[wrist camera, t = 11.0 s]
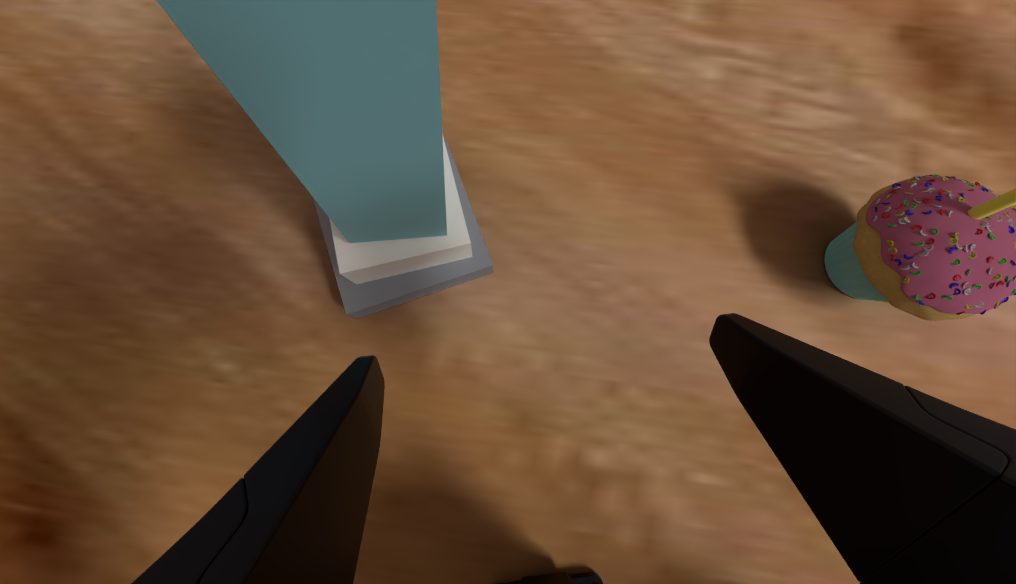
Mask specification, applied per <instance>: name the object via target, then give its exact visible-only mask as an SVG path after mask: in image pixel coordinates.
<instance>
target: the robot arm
mask: <svg viewBox="0 0 1016 584" xmlns="http://www.w3.org/2000/svg"><path fill="white" fill-rule="evenodd" d="M709 342H710V346H711V348H712V350H713V352H714V354H715V356H716V358H717V360H718V362H719V364H720V366H721V368H722V370H723V371H724V373H725V375H726V377H727V379H728V381H729V383H730V385H731V387H732V389H733V390H734V392H735V394H736V396H737V397H738V399H739V401H740V402H741V404H742V405H743V407H744V408H745V410H746V411H747V413H748V414H749V416H750V417H751V419H752V420H753V422H754V423H755V425H756V427H757V428H758V430H759V431H760V433H761V434H762V436H763V437H764V439H765V440H766V442H767V443H768V445H769V446H770V448H771V449H772V451H773V452H774V454H775V455H776V457H777V458H778V460H779V461H780V463H781V465H782V466H783V468H784V469H785V471H786V472H787V474H788V475H789V477H790V478H791V480H792V481H793V483H794V484H795V486H796V487H797V489H798V490H799V492H800V493H801V495H802V496H803V498H804V499H805V501H806V502H807V504H808V506H809V507H810V509H811V510H812V512H813V513H814V515H815V516H816V518H817V519H818V521H819V522H820V524H821V525H822V527H823V528H824V530H825V531H826V533H827V534H828V536H829V537H830V539H831V540H832V542H833V543H834V545H835V547H836V548H837V550H838V551H839V553H840V554H841V556H842V557H843V559H844V560H845V562H846V563H847V565H848V566H849V568H850V569H851V571H852V572H853V574H854V575H855V577H856V578H857V580H858V581H860V584H1016V429H1013V428H1010V427H1008V426H1005V425H1003V424H1000V423H997V422H995V421H992V420H990V419H987V418H984V417H982V416H979V415H977V414H974V413H972V412H969V411H966V410H964V409H961V408H959V407H956V406H954V405H952V404H949V403H947V402H944V401H942V400H939V399H937V398H935V397H932V396H930V395H927V394H925V393H923V392H920V391H918V390H916V389H913V388H911V387H909V386H904V385H903V384H901V383H899V382H896V381H894V380H892V379H889V378H887V377H885V376H882V375H880V374H878V373H875V372H873V371H870V370H868V369H866V368H863V367H861V366H859V365H856V364H854V363H852V362H849V361H847V360H844V359H842V358H840V357H837V356H835V355H833V354H830V353H828V352H826V351H823V350H821V349H818V348H816V347H814V346H811V345H809V344H807V343H804V342H802V341H800V340H797V339H795V338H793V337H790V336H788V335H785V334H783V333H781V332H778V331H776V330H774V329H771V328H769V327H767V326H764V325H762V324H759V323H757V322H755V321H752V320H750V319H748V318H745V317H743V316H741V315H738V314H735V313H731V314H723V315H719V316H718V317H717V319H716V321H715V324H714V327H713V329H712V332H711V335H710V339H709ZM384 388H385V384H384V377H383V374H382V371H381V369H380V366H379V363H378V360H377V358H376V357H375V356H373V355H371V356H362V357H358V358H357V359H356V360H355V361H354V362H353V363H352V364H351V365H350V366H349V367H348V368H347V369H346V370H345V371H344V372H343V373H342V374H341V375H340V376H339V377H338V378H337V379H336V380H335V381H334V382H333V383H332V384H331V385H330V386H329V388H328V389H327V390H326V391H325V392H324V393H323V394H322V395H321V396H320V397H319V398H318V399H317V400H316V401H315V402H314V403H313V404H312V405H311V406H310V407H309V408H308V409H307V410H306V411H305V412H304V413H303V415H302V416H301V417H300V418H299V419H298V420H297V421H296V422H295V423H294V424H293V425H292V426H291V427H290V428H289V429H288V430H287V431H286V432H285V433H284V434H283V435H282V436H281V437H280V438H279V439H278V440H277V441H276V443H275V444H274V445H273V446H272V447H271V448H270V449H269V450H268V451H267V452H266V453H265V454H264V455H263V456H262V457H261V458H260V459H259V460H258V461H257V462H256V463H255V464H254V465H253V466H252V467H251V468H250V470H249V471H248V472H247V473H246V474H245V475H244V478H241V479H240V480H239V481H238V482H237V483H236V484H235V485H234V486H233V487H232V488H231V489H230V490H229V491H228V492H227V493H226V494H225V495H224V496H223V497H222V498H221V499H220V500H219V501H218V502H217V503H216V504H215V505H214V506H213V507H212V508H211V509H210V510H209V511H208V512H207V513H206V514H205V515H204V516H203V517H202V518H201V519H200V520H199V521H198V522H197V523H196V524H195V525H194V526H193V527H192V528H191V529H190V530H189V531H188V532H187V533H186V534H185V535H183V536H182V537H181V538H180V539H179V540H178V541H177V542H176V543H175V544H174V545H173V546H172V547H171V548H170V549H169V550H168V551H166V552H165V553H164V554H163V555H162V556H161V557H160V558H159V559H158V560H157V561H156V562H154V563H153V564H152V565H151V566H150V567H149V568H148V569H147V570H146V571H145V572H144V573H142V574H141V575H140V576H139V577H138V578H137V579H136V580H135V581H134V582H133V583H132V584H353V581H354V576H355V571H356V565H357V560H358V555H359V550H360V545H361V540H362V535H363V530H364V525H365V520H366V514H367V509H368V504H369V499H370V494H371V489H372V484H373V479H374V474H375V469H376V464H377V458H378V453H379V447H380V439H381V427H382V414H383V401H384ZM593 581H596V582H597V584H603V582H602V580H601V578H600V577H599V575H598V574H596V573H594V572H589V573H581V574H573V575H568V574H567V573H566V572H562V573H554V574H546V575H537V576H529V577H523V578H522V579H521V581H515V582H507V583H498V584H591V583H592V582H593Z"/></svg>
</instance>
